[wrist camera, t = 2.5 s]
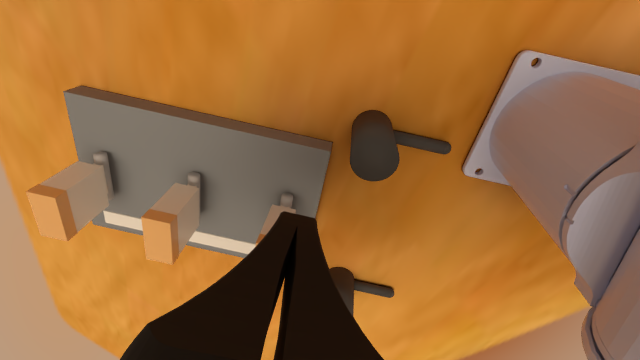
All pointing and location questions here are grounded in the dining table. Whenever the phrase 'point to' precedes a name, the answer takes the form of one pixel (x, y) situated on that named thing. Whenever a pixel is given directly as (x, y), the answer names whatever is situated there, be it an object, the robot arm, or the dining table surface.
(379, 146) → the dark cylinders with handles
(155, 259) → the orange and brown block
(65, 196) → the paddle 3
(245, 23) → the dining table surface
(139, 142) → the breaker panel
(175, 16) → the dining table surface
